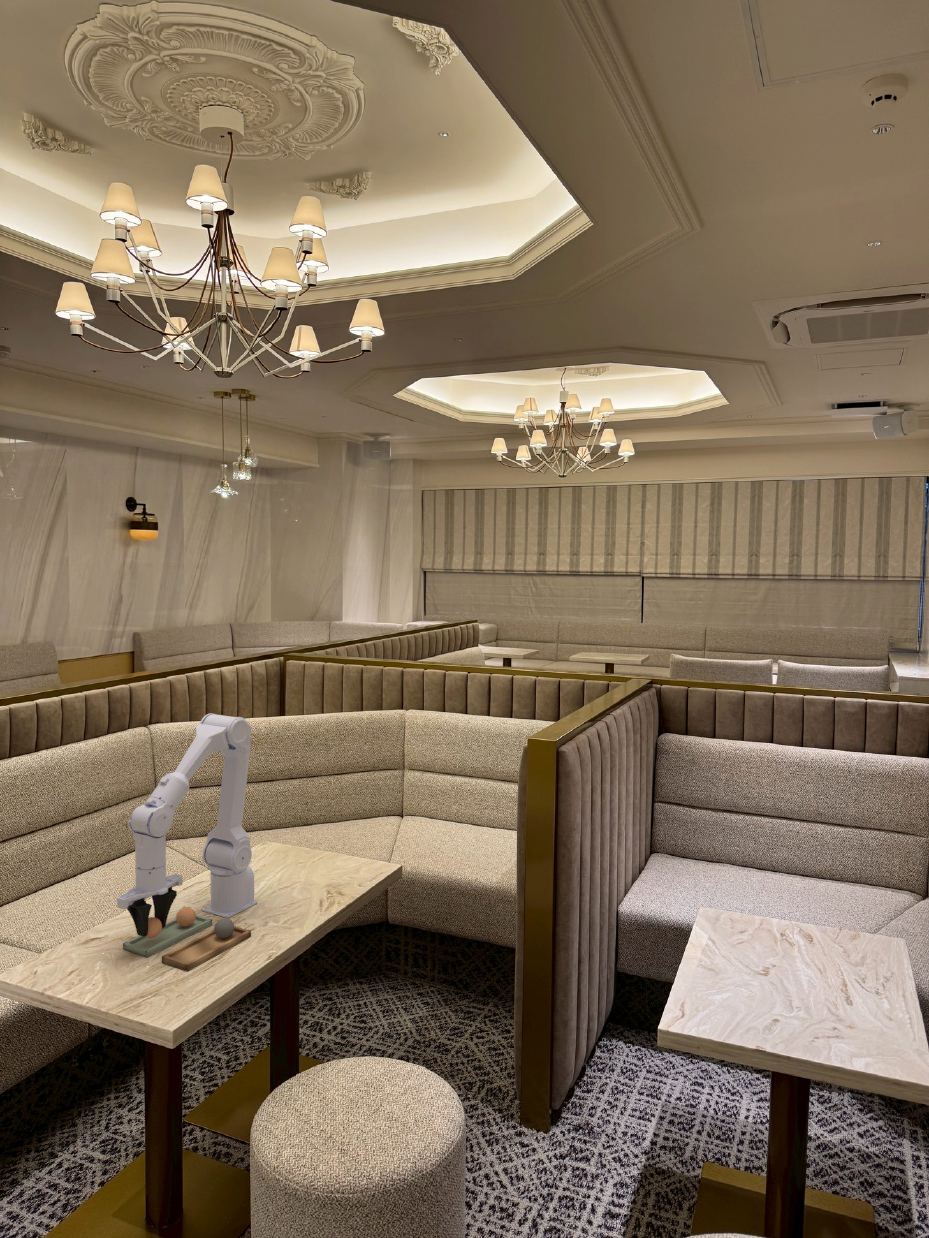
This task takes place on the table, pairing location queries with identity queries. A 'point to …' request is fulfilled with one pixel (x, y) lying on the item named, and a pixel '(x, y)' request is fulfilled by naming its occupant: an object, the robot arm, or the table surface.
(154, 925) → the terracotta ball
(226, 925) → the charcoal ball
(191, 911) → the terracotta ball
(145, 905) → the robot arm
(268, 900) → the table surface
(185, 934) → the trough green
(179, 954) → the trough walnut
